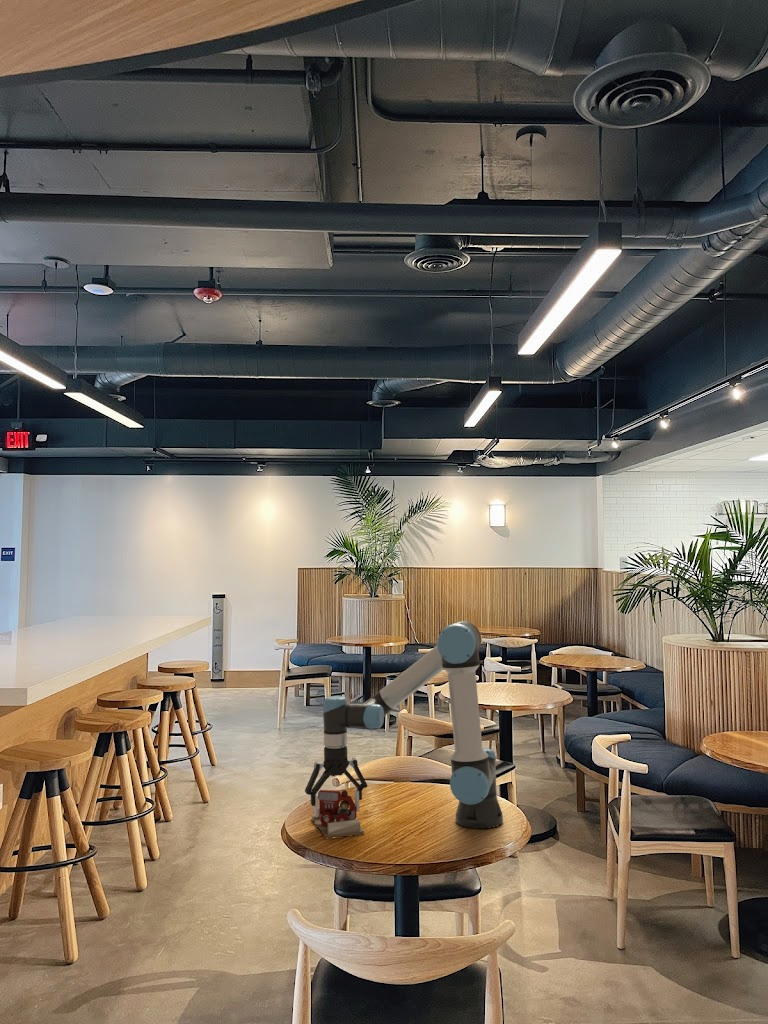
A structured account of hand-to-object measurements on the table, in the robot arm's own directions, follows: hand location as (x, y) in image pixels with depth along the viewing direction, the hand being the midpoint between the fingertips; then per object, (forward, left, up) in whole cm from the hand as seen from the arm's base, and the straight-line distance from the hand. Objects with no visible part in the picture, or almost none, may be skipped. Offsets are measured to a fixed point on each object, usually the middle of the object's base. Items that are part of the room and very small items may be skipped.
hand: (336, 813), depth 245 cm
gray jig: (0, 0, -4) cm, 4 cm away
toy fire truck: (0, 0, -3) cm, 3 cm away
